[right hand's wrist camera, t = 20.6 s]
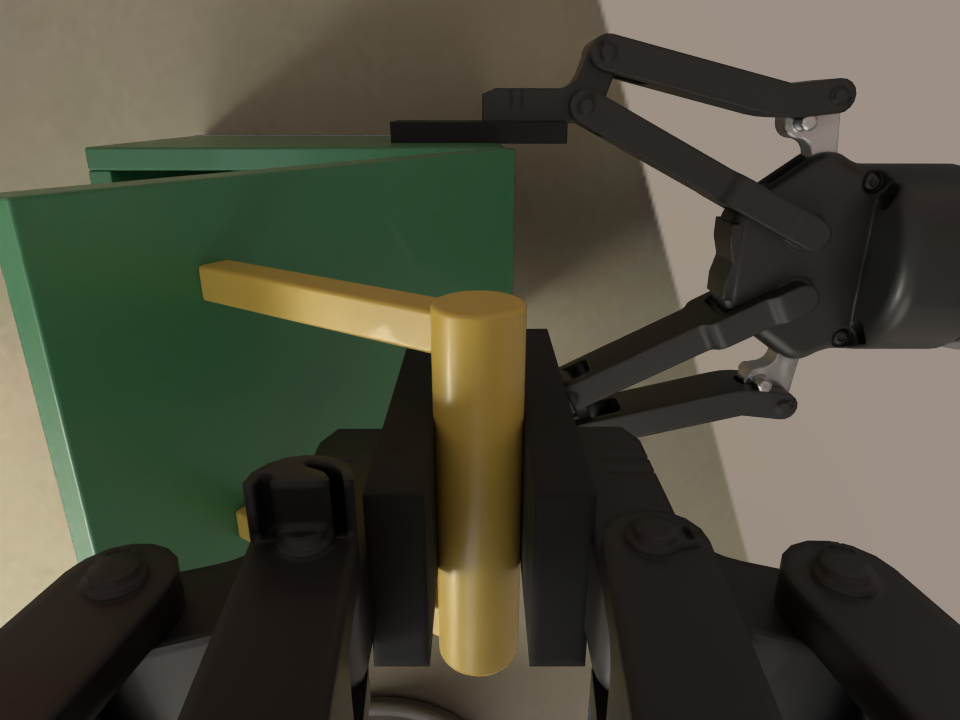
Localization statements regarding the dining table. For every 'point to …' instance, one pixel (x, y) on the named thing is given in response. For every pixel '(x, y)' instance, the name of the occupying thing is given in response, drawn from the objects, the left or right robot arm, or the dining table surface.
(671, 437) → the dining table surface
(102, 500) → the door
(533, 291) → the dining table surface
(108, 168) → the chest
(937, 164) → the left robot arm
